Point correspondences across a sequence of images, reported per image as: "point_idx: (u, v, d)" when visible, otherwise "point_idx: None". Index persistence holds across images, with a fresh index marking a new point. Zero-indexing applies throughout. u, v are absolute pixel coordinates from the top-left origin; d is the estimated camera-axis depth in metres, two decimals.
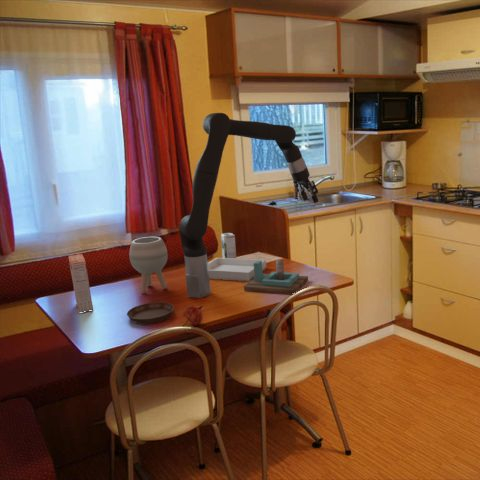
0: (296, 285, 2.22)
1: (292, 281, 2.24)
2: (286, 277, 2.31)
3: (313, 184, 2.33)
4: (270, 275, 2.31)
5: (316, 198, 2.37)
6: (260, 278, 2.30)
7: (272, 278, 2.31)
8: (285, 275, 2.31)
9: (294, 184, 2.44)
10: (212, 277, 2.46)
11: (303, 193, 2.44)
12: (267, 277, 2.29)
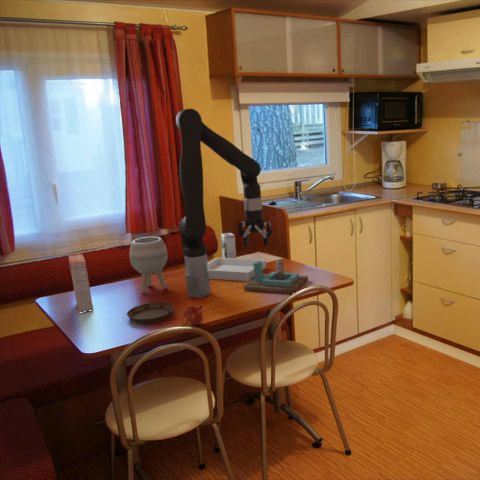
0: (296, 285, 2.22)
1: (292, 281, 2.24)
2: (286, 277, 2.31)
3: (270, 225, 2.25)
4: (270, 275, 2.31)
5: (267, 241, 2.27)
6: (260, 278, 2.30)
7: (272, 278, 2.31)
8: (285, 275, 2.31)
9: (239, 226, 2.29)
10: (212, 277, 2.46)
11: (247, 237, 2.30)
12: (267, 277, 2.29)
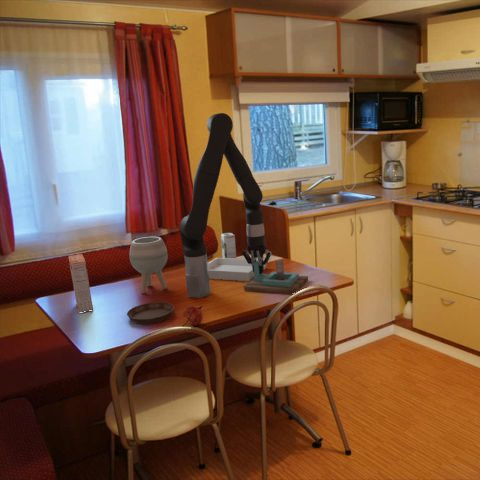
0: (296, 285, 2.22)
1: (292, 281, 2.24)
2: (286, 277, 2.31)
3: (270, 255, 2.28)
4: (270, 275, 2.31)
5: (263, 269, 2.31)
6: (260, 278, 2.30)
7: (272, 278, 2.31)
8: (285, 275, 2.31)
9: (244, 255, 2.31)
10: (212, 277, 2.46)
11: None
12: (267, 277, 2.29)
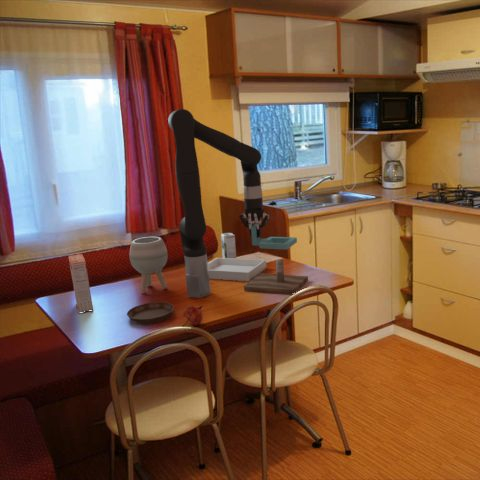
0: (296, 285, 2.22)
1: (290, 244, 2.20)
2: (284, 241, 2.28)
3: (268, 218, 2.24)
4: (268, 239, 2.27)
5: (260, 232, 2.27)
6: (257, 242, 2.26)
7: (270, 242, 2.27)
8: (283, 239, 2.28)
9: (241, 219, 2.28)
10: (212, 277, 2.46)
11: None
12: (264, 241, 2.25)
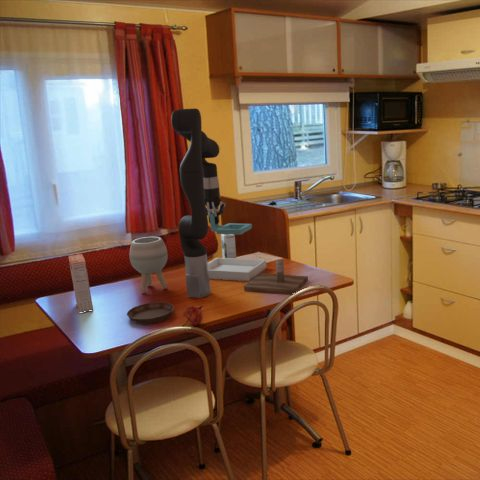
0: (296, 285, 2.22)
1: (244, 230, 2.41)
2: (240, 227, 2.49)
3: (224, 206, 2.45)
4: (225, 225, 2.48)
5: (218, 219, 2.48)
6: (216, 228, 2.47)
7: (227, 228, 2.48)
8: (239, 225, 2.49)
9: None
10: (212, 277, 2.46)
11: None
12: (222, 227, 2.46)
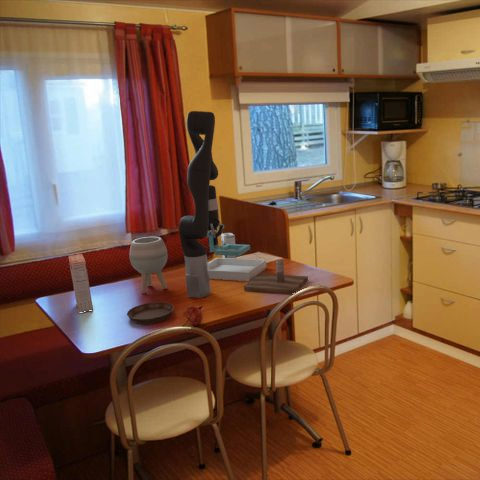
0: (296, 285, 2.22)
1: (242, 251, 2.45)
2: (238, 248, 2.53)
3: (223, 228, 2.49)
4: (224, 246, 2.52)
5: (217, 240, 2.52)
6: (214, 249, 2.51)
7: (225, 249, 2.52)
8: (237, 246, 2.53)
9: None
10: (212, 277, 2.46)
11: None
12: (220, 248, 2.50)
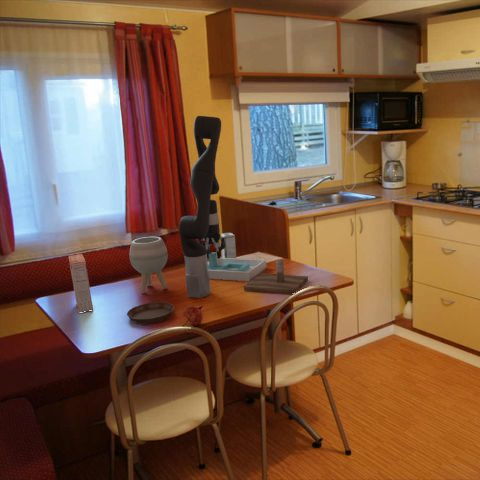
0: (296, 285, 2.22)
1: (242, 270, 2.48)
2: (238, 267, 2.55)
3: (225, 240, 2.50)
4: (224, 265, 2.55)
5: (220, 254, 2.53)
6: (214, 268, 2.54)
7: (225, 268, 2.54)
8: (237, 265, 2.55)
9: (199, 241, 2.54)
10: (212, 277, 2.46)
11: (208, 250, 2.55)
12: (220, 267, 2.52)
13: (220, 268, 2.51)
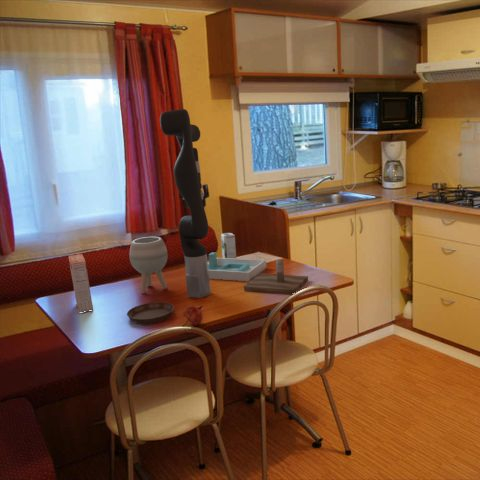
0: (296, 285, 2.22)
1: (242, 270, 2.48)
2: (238, 267, 2.55)
3: (207, 187, 2.41)
4: (224, 265, 2.55)
5: (205, 203, 2.43)
6: (214, 268, 2.54)
7: (225, 268, 2.54)
8: (237, 265, 2.55)
9: None
10: (212, 277, 2.46)
11: None
12: (220, 267, 2.52)
13: (220, 268, 2.51)
